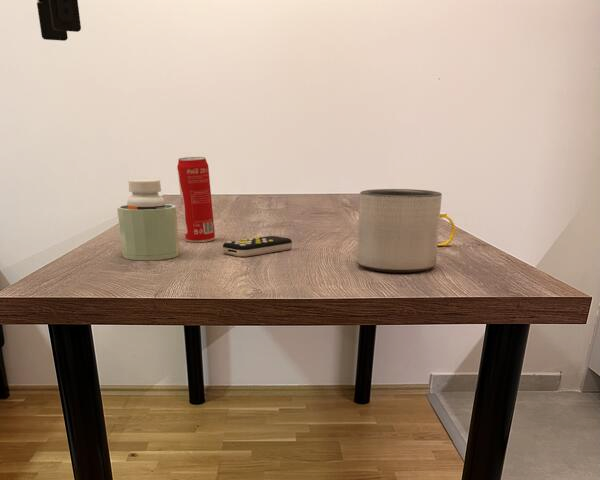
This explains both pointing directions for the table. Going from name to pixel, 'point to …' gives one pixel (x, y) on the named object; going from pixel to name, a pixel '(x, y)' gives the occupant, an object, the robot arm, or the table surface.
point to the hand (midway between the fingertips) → (60, 35)
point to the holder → (148, 233)
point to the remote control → (257, 246)
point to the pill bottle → (145, 194)
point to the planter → (398, 230)
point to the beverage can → (196, 199)
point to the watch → (452, 229)
